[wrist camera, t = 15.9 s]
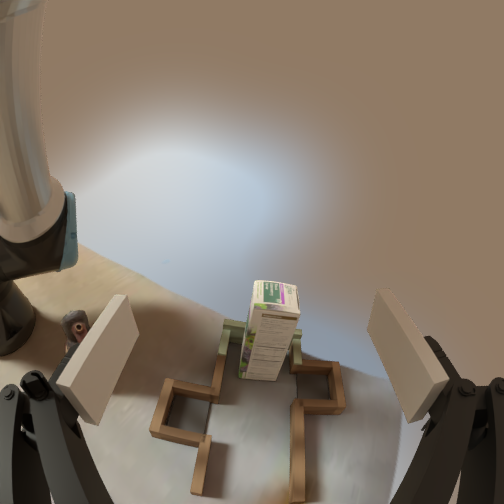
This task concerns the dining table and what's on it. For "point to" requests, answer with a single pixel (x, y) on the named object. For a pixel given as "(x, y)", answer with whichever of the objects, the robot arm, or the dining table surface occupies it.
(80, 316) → the figurine
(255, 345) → the syrup box
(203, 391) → the channel
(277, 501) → the dining table surface
